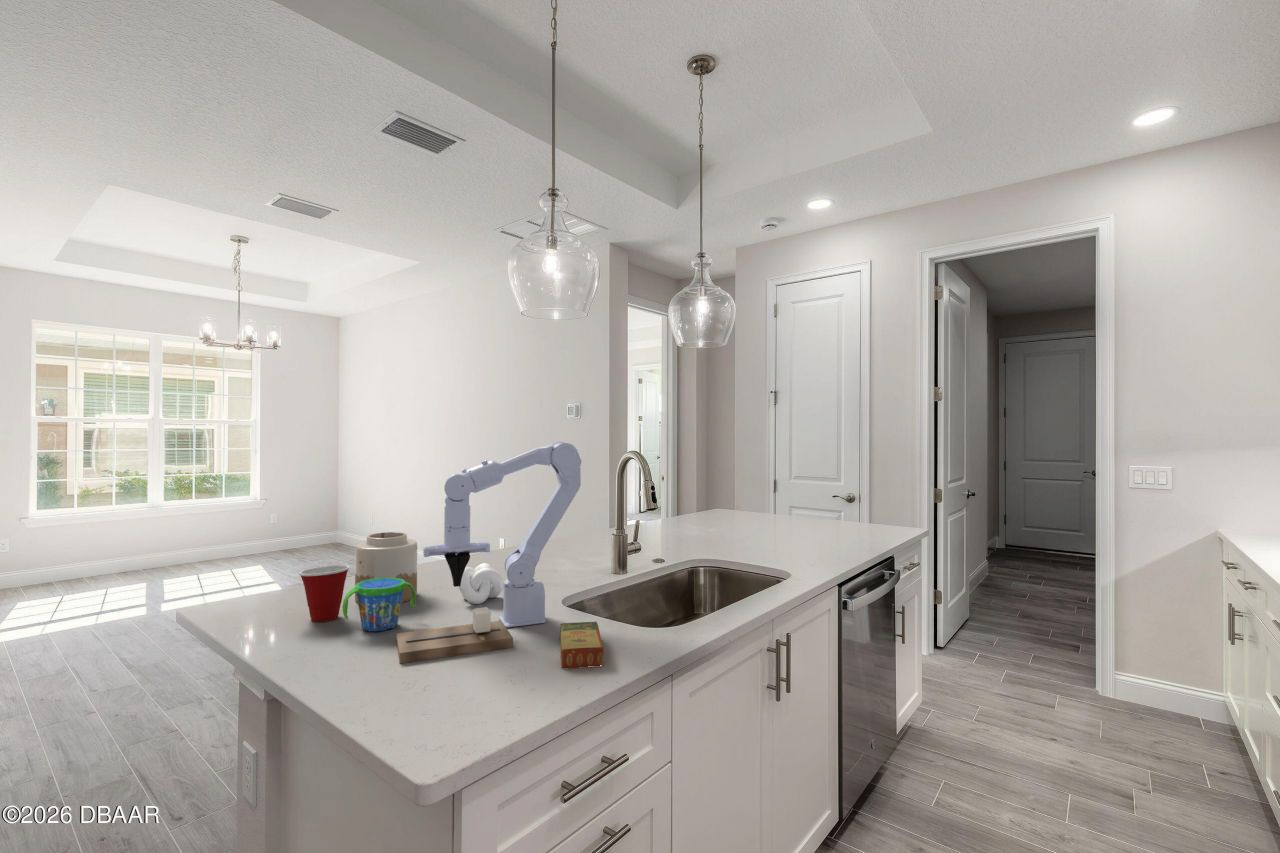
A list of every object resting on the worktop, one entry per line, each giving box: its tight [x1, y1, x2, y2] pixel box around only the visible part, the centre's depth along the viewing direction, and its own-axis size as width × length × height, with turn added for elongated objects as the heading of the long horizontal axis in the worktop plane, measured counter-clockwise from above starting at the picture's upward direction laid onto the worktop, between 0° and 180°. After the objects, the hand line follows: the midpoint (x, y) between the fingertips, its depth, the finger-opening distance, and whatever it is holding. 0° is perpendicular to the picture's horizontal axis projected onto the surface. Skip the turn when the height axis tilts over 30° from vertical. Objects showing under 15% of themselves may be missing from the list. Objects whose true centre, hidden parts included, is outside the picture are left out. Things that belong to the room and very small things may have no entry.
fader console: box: [396, 620, 514, 664], centre depth 127 cm, size 22×12×2 cm, turn 114°
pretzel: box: [458, 562, 504, 605], centre depth 160 cm, size 11×12×9 cm
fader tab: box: [472, 606, 492, 633], centre depth 129 cm, size 3×4×4 cm
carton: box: [559, 621, 604, 670], centre depth 124 cm, size 8×16×4 cm, turn 8°
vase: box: [354, 531, 418, 604], centre depth 161 cm, size 15×15×17 cm
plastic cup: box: [298, 564, 350, 623], centre depth 144 cm, size 11×11×12 cm
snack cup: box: [342, 578, 417, 632], centre depth 138 cm, size 16×10×10 cm
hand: (456, 585), depth 139 cm, fingers closed
